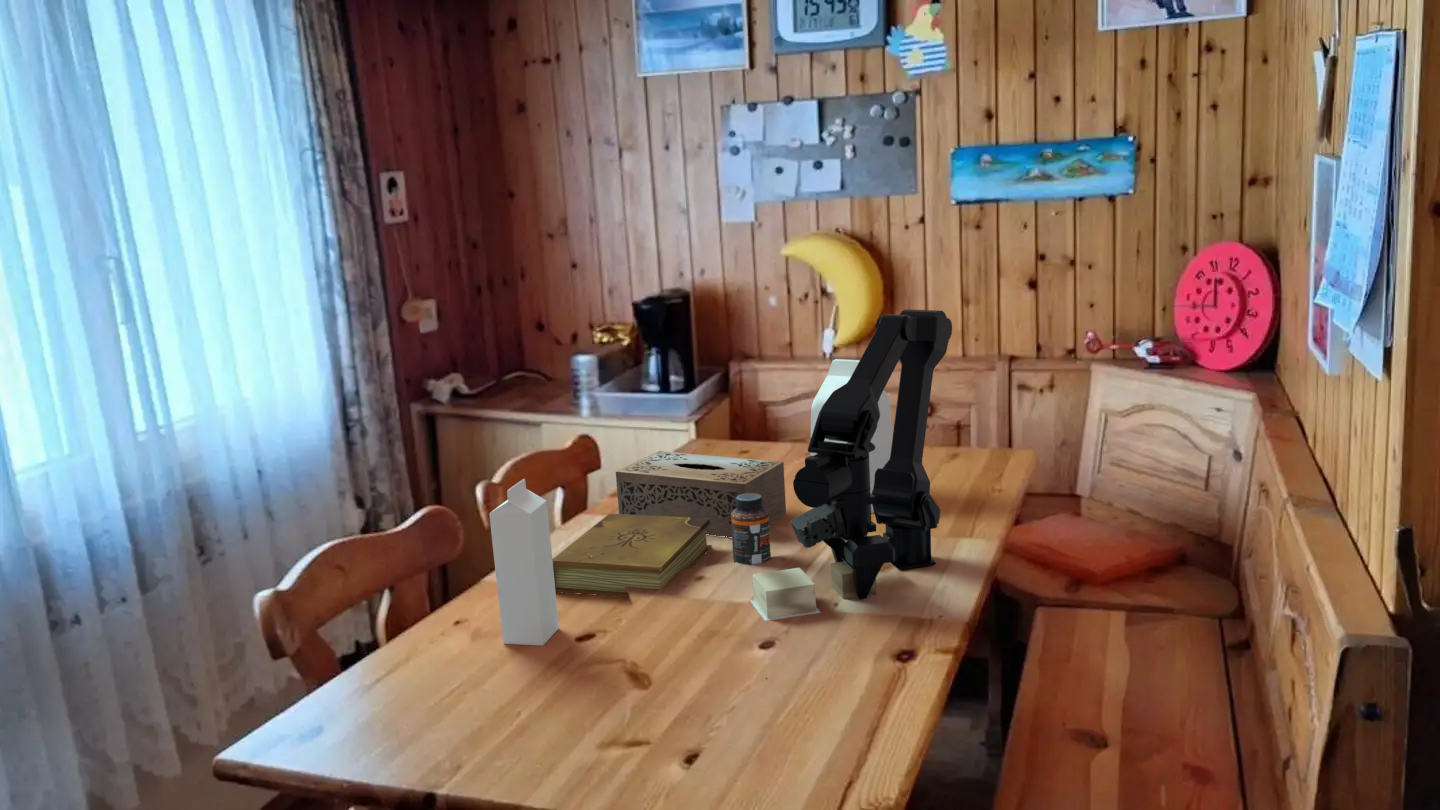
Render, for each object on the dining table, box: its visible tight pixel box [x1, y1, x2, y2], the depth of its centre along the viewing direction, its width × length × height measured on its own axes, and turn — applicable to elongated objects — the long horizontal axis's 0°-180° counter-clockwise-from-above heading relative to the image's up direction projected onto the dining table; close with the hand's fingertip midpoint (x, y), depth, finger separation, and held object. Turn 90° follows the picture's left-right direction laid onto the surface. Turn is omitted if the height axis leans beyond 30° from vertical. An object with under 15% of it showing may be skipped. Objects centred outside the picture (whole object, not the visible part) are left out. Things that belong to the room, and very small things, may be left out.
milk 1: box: [488, 478, 560, 646], centre depth 166 cm, size 6×6×22 cm
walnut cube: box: [830, 561, 877, 600], centre depth 174 cm, size 5×5×5 cm
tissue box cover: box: [615, 450, 787, 538], centre depth 214 cm, size 26×14×10 cm, turn 61°
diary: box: [552, 513, 713, 598], centre depth 192 cm, size 23×19×6 cm
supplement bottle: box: [731, 493, 772, 565], centre depth 189 cm, size 6×6×11 cm
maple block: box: [752, 567, 817, 619], centre depth 170 cm, size 7×7×4 cm
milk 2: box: [810, 358, 893, 514], centre depth 217 cm, size 12×12×26 cm
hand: (853, 591), depth 175 cm, fingers open, 6 cm apart
